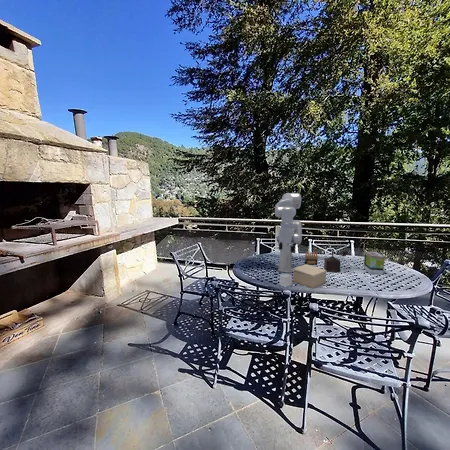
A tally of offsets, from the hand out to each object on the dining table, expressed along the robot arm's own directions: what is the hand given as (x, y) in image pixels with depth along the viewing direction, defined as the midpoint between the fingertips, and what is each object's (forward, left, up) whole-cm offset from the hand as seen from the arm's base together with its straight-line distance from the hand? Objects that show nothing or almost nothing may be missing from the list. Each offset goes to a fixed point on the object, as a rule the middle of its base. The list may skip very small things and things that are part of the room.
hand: (286, 250), depth 170 cm
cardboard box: (+8, +17, -25) cm, 31 cm away
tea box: (+28, +78, -25) cm, 87 cm away
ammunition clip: (-15, +57, -25) cm, 64 cm away
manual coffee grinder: (+7, +57, -25) cm, 63 cm away
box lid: (+8, +17, -16) cm, 25 cm away
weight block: (0, 0, -25) cm, 25 cm away
